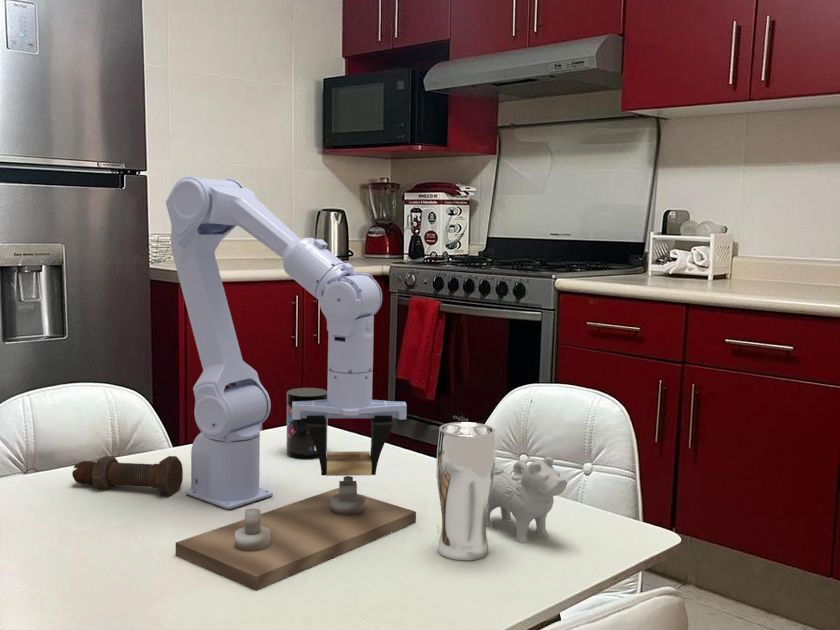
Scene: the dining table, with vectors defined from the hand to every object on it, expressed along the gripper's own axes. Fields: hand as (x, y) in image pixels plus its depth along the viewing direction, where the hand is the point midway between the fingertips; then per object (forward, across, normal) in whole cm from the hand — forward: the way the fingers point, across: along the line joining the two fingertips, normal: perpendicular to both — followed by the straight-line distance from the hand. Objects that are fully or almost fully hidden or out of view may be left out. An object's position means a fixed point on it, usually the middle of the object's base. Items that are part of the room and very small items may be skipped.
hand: (348, 473), depth 112 cm
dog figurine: (+7, +22, -5) cm, 23 cm away
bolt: (+7, -31, +14) cm, 35 cm away
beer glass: (+7, +13, -11) cm, 18 cm away
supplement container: (+7, -6, +31) cm, 32 cm away
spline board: (+6, -6, -6) cm, 10 cm away
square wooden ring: (-1, 0, 0) cm, 1 cm away
